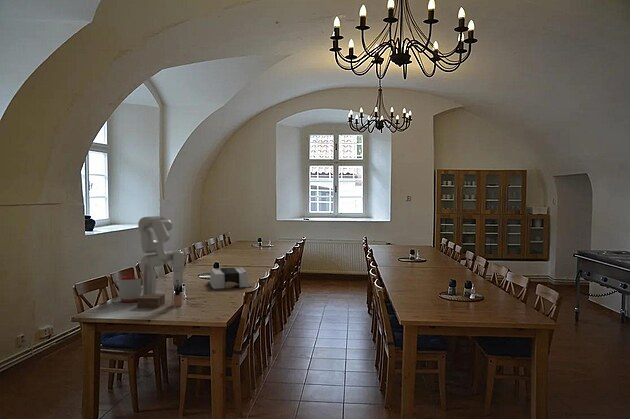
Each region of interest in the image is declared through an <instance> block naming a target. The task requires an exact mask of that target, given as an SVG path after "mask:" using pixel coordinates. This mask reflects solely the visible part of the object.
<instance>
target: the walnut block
mask: <svg viewBox="0 0 630 419" xmlns="http://www.w3.org/2000/svg"><path fill="white" fill-rule="evenodd" d="M165 299H166V295H165V294H164V293H162V294H161V293H156V294H144V295H143V294H142V295H140V297H138V298H137V301H136V302H137V304H136V305H137V306H136V308H137V309H156V310H157V309H159V308H161V307H162V306H164V305H165V302H166V300H165Z"/></svg>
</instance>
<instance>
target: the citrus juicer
mask: <svg viewBox="0 0 630 419" xmlns="http://www.w3.org/2000/svg"><path fill="white" fill-rule="evenodd" d="M142 279H143V276H139V277H138V278H136V276H135V275H133V274H132V273H128V274H127V275H124V276H120V277H118V293H119V298H120V300H121V302H124V303H133V302H137V298H138V297H140V296H142V295H141V294H142V284H143V280H142Z"/></svg>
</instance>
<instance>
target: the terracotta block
mask: <svg viewBox="0 0 630 419" xmlns="http://www.w3.org/2000/svg"><path fill="white" fill-rule="evenodd" d="M184 294H185V293H184V292H182V293H180V295H175V292H174V293H173V294H172V306H173V307H182V306H184V304H185V303H184V302H185V300H184V299H185V298H184Z"/></svg>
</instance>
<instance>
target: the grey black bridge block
mask: <svg viewBox="0 0 630 419" xmlns="http://www.w3.org/2000/svg"><path fill="white" fill-rule="evenodd" d="M248 274H249V273H248V272H247V271H246V270H245V269H244V268H243V267H220V268H212V269H210V279H209V281H207V282H206V283H207V285H208V286H209V288H210V289H211V290H234V289H249V288H252V285H250V282H249V275H248ZM209 283H210V284H209Z"/></svg>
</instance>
